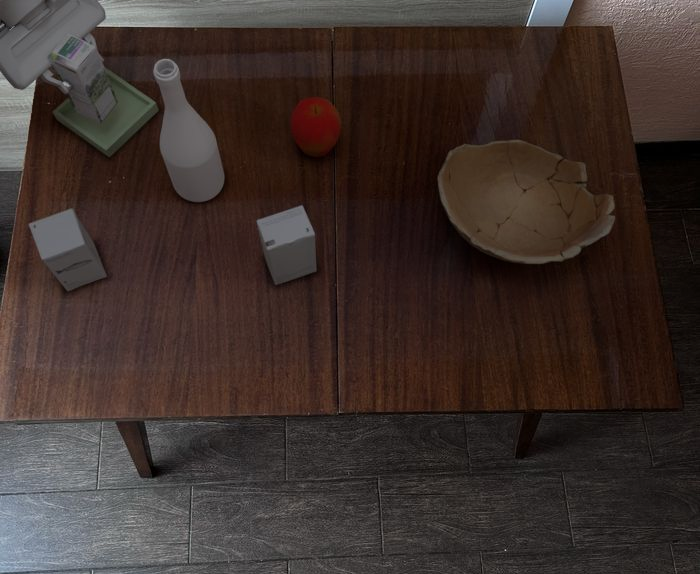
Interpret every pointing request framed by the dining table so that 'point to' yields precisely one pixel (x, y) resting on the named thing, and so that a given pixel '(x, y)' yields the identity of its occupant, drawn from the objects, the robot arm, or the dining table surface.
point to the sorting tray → (111, 117)
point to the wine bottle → (187, 141)
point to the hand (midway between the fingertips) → (85, 77)
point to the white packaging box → (67, 249)
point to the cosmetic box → (288, 244)
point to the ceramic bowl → (522, 202)
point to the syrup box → (84, 77)
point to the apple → (315, 126)
